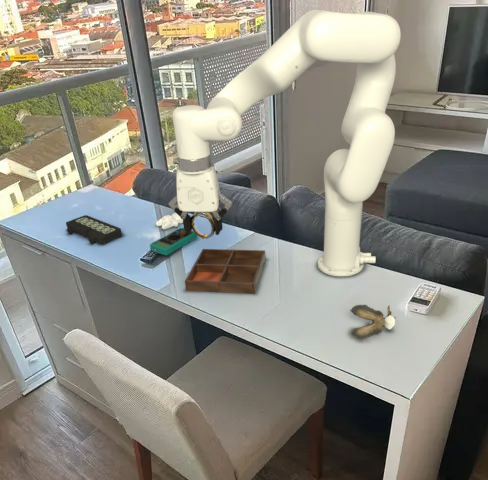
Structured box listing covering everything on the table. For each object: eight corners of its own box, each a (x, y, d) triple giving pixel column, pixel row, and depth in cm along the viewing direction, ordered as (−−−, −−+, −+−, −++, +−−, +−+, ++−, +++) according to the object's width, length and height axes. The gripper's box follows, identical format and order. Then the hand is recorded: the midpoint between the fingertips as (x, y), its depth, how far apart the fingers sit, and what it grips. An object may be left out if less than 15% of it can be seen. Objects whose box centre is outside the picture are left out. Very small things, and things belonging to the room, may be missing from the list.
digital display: (60, 222, 168) (85, 213, 173) (63, 231, 169) (87, 222, 175) (95, 238, 155) (121, 227, 161) (98, 247, 157) (123, 236, 163)
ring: (190, 238, 127) (185, 209, 122) (197, 233, 129) (193, 204, 124) (211, 243, 124) (208, 213, 119) (219, 238, 126) (215, 209, 121)
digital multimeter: (199, 238, 157) (198, 230, 156) (166, 257, 148) (164, 248, 147) (182, 233, 161) (181, 225, 160) (149, 251, 152) (148, 243, 150)
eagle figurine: (381, 312, 115) (346, 311, 113) (395, 299, 109) (358, 298, 107) (387, 342, 112) (350, 342, 111) (402, 331, 106) (363, 331, 104)
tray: (265, 259, 143) (265, 250, 141) (254, 293, 128) (254, 284, 126) (203, 257, 146) (202, 248, 145) (186, 290, 132) (184, 281, 130)
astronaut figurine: (152, 224, 169) (150, 215, 168) (182, 214, 175) (180, 205, 173) (164, 231, 164) (163, 223, 162) (194, 221, 169) (193, 212, 167)
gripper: (155, 168, 114) (167, 238, 124) (227, 168, 110) (233, 239, 121) (165, 158, 120) (175, 225, 130) (234, 157, 116) (239, 226, 127)
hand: (203, 231), depth 125 cm, fingers closed on ring, 7 cm apart
